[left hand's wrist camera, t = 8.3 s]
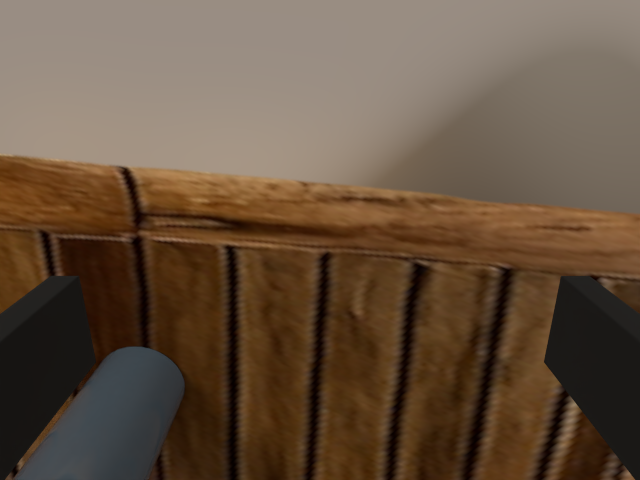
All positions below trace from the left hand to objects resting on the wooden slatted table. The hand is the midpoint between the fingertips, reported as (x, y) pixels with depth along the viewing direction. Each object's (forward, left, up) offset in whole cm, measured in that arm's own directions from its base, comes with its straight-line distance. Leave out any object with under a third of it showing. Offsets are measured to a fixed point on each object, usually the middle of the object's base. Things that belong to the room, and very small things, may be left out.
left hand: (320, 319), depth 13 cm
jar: (-24, +18, -28) cm, 41 cm away
